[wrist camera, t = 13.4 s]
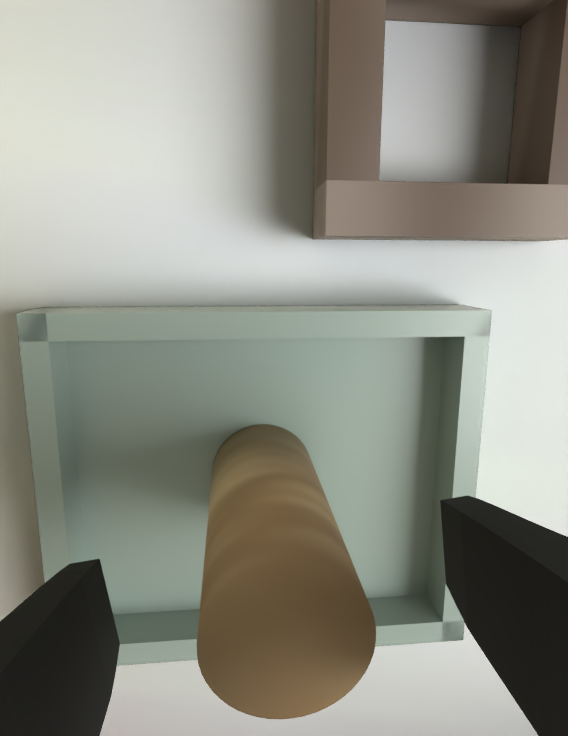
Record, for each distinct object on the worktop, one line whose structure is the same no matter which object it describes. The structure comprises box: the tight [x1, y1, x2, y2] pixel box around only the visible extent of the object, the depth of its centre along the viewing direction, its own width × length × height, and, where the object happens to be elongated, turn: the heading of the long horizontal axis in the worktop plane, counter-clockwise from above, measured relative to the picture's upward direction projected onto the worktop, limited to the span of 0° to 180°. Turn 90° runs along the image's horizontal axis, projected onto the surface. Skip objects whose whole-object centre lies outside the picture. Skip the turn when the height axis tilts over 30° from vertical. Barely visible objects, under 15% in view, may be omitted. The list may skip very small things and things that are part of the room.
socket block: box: [313, 0, 568, 241], centre depth 13 cm, size 7×7×2 cm
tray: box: [16, 305, 492, 666], centre depth 15 cm, size 12×10×2 cm
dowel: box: [197, 424, 376, 719], centre depth 12 cm, size 3×3×7 cm
